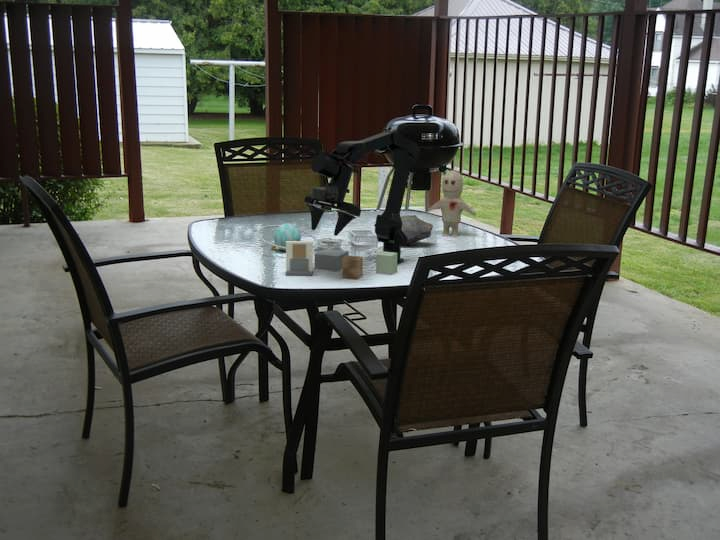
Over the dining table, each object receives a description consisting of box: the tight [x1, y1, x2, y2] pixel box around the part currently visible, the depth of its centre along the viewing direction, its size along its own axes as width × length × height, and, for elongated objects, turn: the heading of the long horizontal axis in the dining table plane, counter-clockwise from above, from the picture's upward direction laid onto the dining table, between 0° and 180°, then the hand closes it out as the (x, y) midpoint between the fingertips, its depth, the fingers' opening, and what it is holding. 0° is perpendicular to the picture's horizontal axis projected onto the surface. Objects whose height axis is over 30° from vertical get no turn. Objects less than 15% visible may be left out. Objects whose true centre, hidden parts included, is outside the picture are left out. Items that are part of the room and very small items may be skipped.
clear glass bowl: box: [256, 222, 319, 252], centre depth 265 cm, size 10×20×20 cm
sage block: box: [375, 250, 398, 276], centre depth 238 cm, size 5×5×6 cm
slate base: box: [314, 248, 350, 272], centre depth 243 cm, size 8×8×5 cm
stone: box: [400, 214, 434, 245], centre depth 278 cm, size 18×10×15 cm
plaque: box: [285, 240, 314, 277], centre depth 234 cm, size 8×5×10 cm, turn 91°
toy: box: [427, 169, 477, 238], centre depth 292 cm, size 18×8×25 cm, turn 65°
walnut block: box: [341, 255, 364, 280], centre depth 232 cm, size 5×5×6 cm
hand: (323, 232), depth 230 cm, fingers open, 9 cm apart
